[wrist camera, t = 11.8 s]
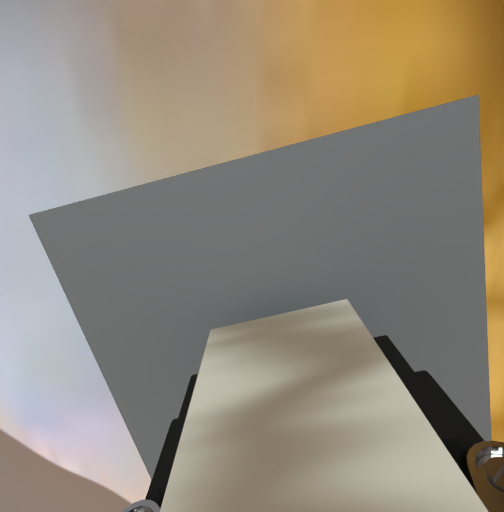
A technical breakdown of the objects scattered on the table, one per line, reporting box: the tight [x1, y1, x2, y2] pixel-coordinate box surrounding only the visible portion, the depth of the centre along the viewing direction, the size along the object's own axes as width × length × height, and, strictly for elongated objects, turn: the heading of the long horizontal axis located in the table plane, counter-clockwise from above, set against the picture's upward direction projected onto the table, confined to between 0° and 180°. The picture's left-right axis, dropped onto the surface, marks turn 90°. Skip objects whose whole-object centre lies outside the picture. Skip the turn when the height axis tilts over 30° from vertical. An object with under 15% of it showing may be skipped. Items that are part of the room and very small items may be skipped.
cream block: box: [160, 299, 488, 512], centre depth 8 cm, size 5×5×7 cm
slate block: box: [29, 95, 491, 479], centre depth 15 cm, size 16×16×5 cm
